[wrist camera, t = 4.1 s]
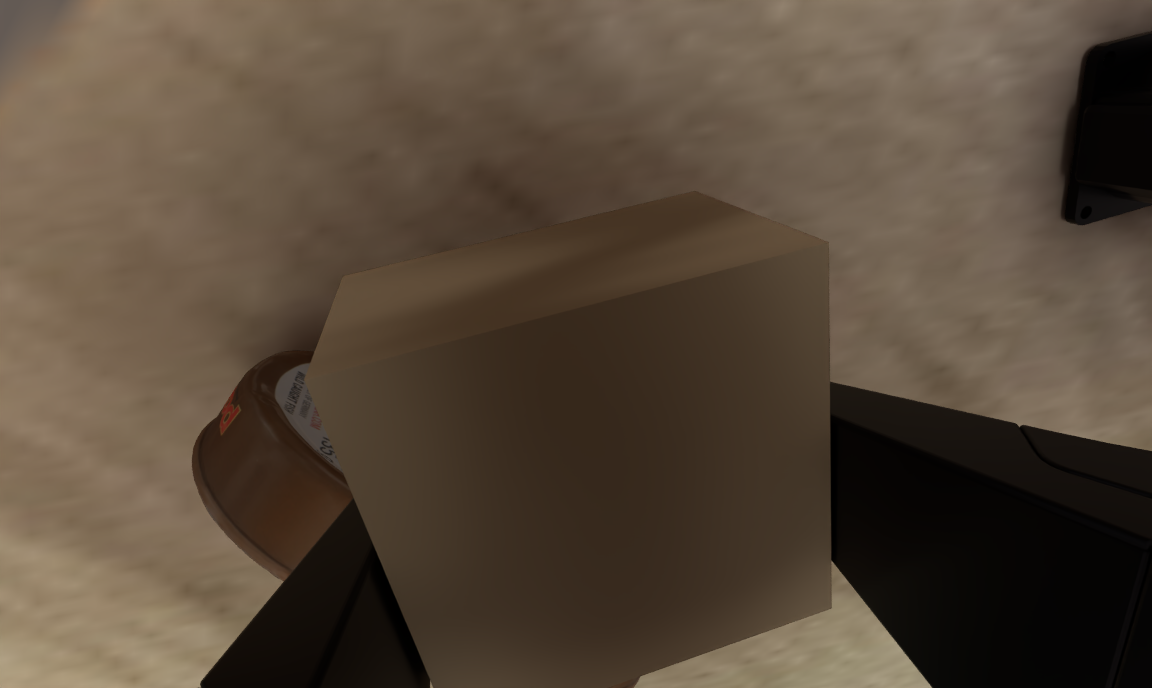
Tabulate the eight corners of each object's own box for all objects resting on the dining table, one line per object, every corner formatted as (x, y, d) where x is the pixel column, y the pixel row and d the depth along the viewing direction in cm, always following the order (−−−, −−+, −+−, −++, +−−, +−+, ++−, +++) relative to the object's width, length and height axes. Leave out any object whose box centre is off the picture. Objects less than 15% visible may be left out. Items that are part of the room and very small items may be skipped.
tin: (235, 376, 20) (119, 562, 12) (287, 297, 19) (199, 440, 11) (593, 551, 26) (666, 746, 18) (640, 495, 25) (736, 673, 18)
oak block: (694, 191, 9) (828, 241, 6) (722, 471, 11) (831, 608, 8) (342, 275, 8) (303, 380, 5) (444, 557, 10) (456, 741, 7)
